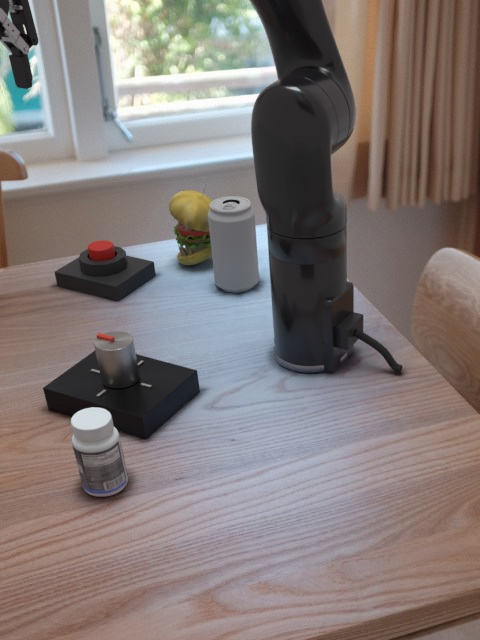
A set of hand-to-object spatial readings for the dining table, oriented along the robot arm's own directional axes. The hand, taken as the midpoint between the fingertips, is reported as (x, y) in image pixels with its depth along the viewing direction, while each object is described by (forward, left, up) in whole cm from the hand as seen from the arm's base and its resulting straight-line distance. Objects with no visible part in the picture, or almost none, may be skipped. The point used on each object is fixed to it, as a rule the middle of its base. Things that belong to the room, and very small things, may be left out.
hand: (0, 96), depth 111 cm
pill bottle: (-34, +31, -27) cm, 53 cm away
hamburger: (-13, -19, -27) cm, 36 cm away
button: (-4, -8, -23) cm, 25 cm away
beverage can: (-22, -15, -27) cm, 38 cm away
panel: (-26, +17, -27) cm, 41 cm away
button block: (-4, -8, -27) cm, 28 cm away
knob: (-26, +17, -24) cm, 39 cm away
